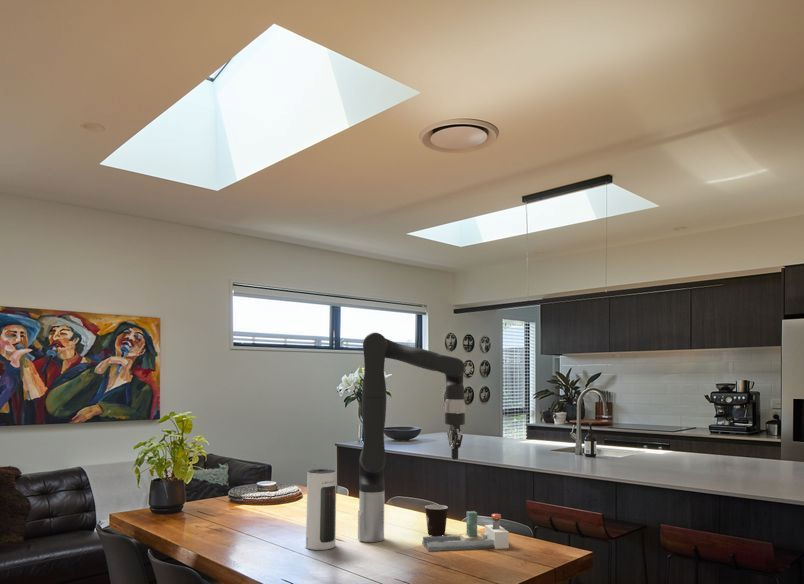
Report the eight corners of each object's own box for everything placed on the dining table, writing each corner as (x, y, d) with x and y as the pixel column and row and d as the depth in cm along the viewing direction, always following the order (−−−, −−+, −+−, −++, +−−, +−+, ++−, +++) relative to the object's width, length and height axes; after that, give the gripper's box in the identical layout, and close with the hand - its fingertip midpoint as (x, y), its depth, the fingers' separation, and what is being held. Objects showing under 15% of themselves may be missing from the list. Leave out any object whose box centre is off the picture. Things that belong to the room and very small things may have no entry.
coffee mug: (446, 537, 229) (446, 509, 230) (423, 536, 230) (423, 508, 232) (450, 530, 240) (450, 503, 241) (428, 529, 242) (428, 502, 243)
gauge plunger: (493, 542, 218) (493, 515, 219) (490, 540, 221) (490, 513, 223) (502, 542, 219) (501, 515, 220) (499, 540, 222) (498, 513, 223)
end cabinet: (495, 548, 214) (494, 532, 215) (484, 540, 225) (484, 525, 225) (508, 548, 215) (508, 531, 216) (497, 540, 226) (497, 524, 226)
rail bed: (428, 551, 210) (428, 543, 210) (422, 543, 220) (422, 536, 220) (504, 548, 215) (504, 540, 216) (494, 540, 225) (494, 533, 225)
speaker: (310, 552, 208) (312, 472, 212) (300, 544, 217) (303, 468, 221) (339, 548, 213) (341, 470, 216) (329, 541, 222) (330, 466, 226)
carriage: (464, 543, 215) (464, 514, 217) (460, 540, 220) (460, 511, 222) (483, 543, 216) (483, 513, 218) (479, 539, 221) (478, 510, 223)
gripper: (440, 410, 237) (440, 457, 235) (449, 412, 225) (449, 461, 222) (459, 410, 239) (459, 456, 236) (469, 412, 226) (469, 461, 223)
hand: (454, 459), depth 229 cm, fingers closed
